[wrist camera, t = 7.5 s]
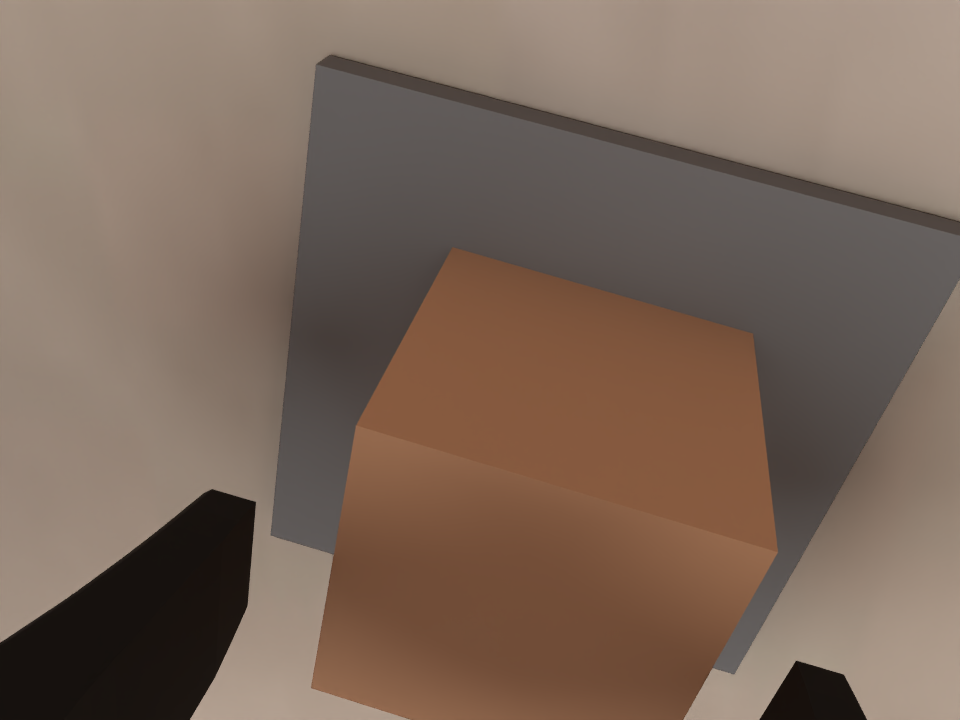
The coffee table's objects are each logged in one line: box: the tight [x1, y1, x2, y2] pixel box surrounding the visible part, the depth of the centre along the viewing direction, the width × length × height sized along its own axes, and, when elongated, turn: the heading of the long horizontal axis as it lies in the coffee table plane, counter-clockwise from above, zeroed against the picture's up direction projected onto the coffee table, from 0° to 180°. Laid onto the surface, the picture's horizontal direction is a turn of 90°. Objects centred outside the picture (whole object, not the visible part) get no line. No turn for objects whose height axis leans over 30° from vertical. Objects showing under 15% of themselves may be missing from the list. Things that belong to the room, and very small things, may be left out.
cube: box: [311, 247, 778, 720], centre depth 14 cm, size 5×5×5 cm
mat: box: [271, 55, 960, 674], centre depth 16 cm, size 10×10×1 cm
